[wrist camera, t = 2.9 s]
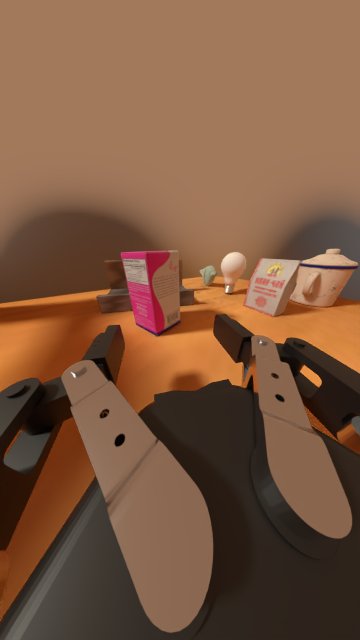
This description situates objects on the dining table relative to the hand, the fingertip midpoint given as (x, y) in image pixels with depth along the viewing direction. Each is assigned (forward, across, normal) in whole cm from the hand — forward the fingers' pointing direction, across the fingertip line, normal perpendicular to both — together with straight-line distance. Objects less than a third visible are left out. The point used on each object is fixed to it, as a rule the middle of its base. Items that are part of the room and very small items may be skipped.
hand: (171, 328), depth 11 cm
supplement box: (+11, +1, +6) cm, 12 cm away
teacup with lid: (+14, -36, +6) cm, 39 cm away
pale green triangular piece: (+34, -19, +5) cm, 40 cm away
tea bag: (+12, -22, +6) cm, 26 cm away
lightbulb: (+24, -21, +6) cm, 33 cm away
